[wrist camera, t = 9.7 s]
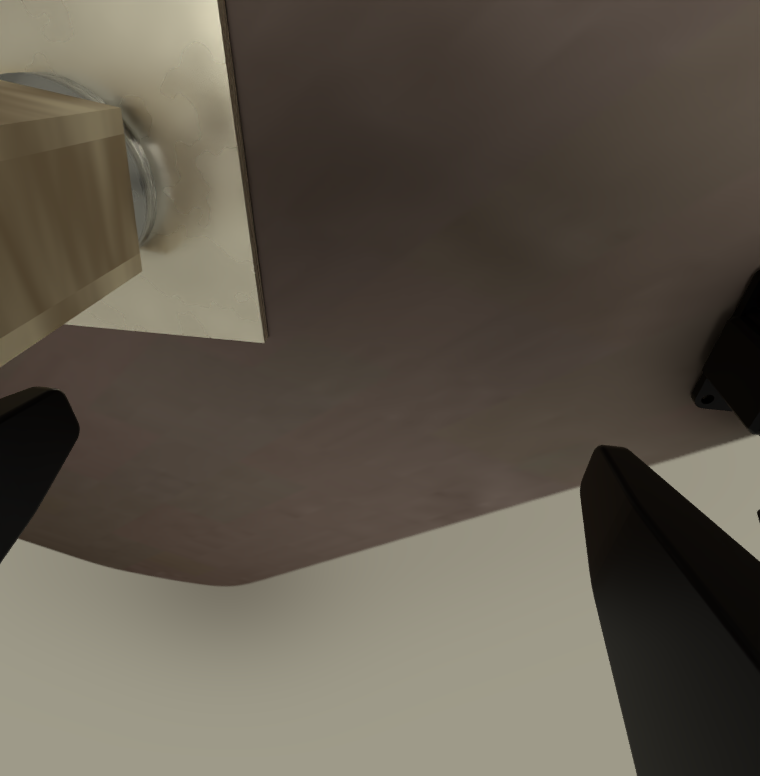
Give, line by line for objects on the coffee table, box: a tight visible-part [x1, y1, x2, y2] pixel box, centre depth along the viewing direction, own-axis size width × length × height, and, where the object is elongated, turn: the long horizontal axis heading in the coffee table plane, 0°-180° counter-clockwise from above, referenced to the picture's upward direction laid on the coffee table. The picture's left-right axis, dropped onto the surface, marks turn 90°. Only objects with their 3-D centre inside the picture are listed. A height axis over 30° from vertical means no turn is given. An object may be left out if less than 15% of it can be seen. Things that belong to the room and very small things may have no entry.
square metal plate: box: [0, 0, 268, 343], centre depth 17 cm, size 14×14×6 cm
